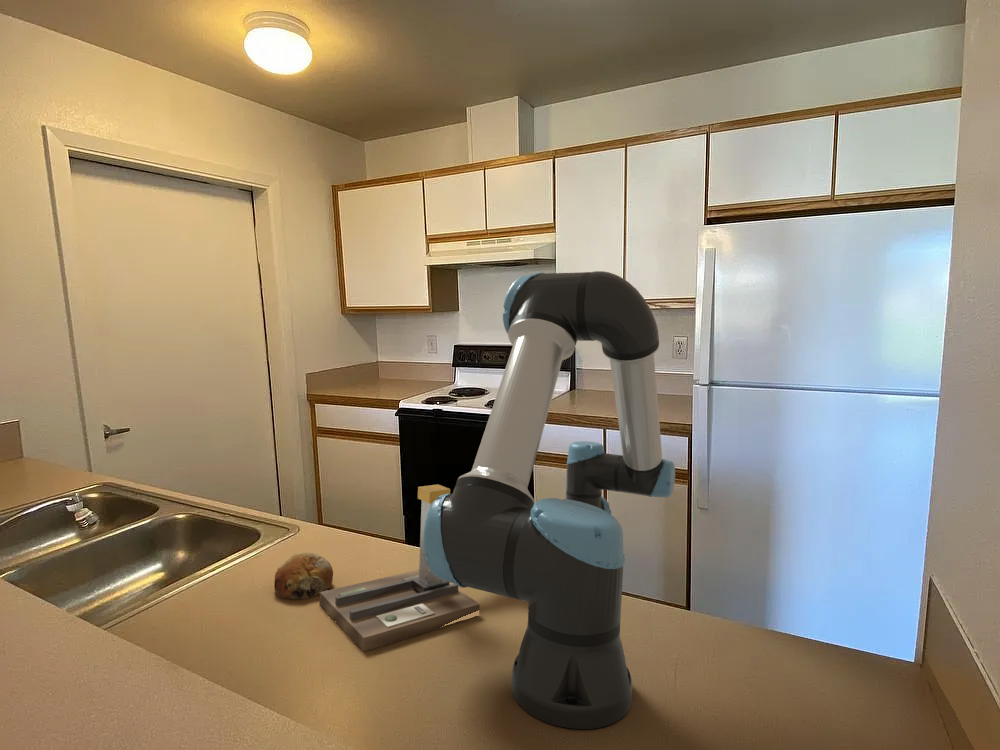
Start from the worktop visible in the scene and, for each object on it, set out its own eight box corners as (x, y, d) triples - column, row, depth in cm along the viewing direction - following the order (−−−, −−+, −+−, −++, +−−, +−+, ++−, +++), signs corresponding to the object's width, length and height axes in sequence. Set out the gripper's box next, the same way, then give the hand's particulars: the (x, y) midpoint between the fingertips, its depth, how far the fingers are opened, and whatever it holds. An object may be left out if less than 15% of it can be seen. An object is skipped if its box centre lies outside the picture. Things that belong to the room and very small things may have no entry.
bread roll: (336, 603, 100) (345, 557, 103) (315, 601, 91) (325, 551, 94) (285, 598, 101) (294, 553, 104) (258, 596, 91) (270, 547, 95)
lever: (449, 588, 93) (452, 488, 93) (423, 595, 90) (427, 492, 90) (437, 580, 97) (440, 484, 96) (412, 586, 94) (415, 487, 93)
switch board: (479, 616, 89) (480, 596, 89) (363, 651, 77) (364, 629, 77) (424, 578, 103) (425, 562, 103) (319, 604, 91) (320, 585, 91)
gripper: (570, 549, 106) (470, 574, 91) (527, 531, 116) (431, 551, 102) (572, 511, 106) (471, 530, 91) (529, 496, 116) (432, 511, 102)
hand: (450, 541), depth 97 cm, fingers closed
